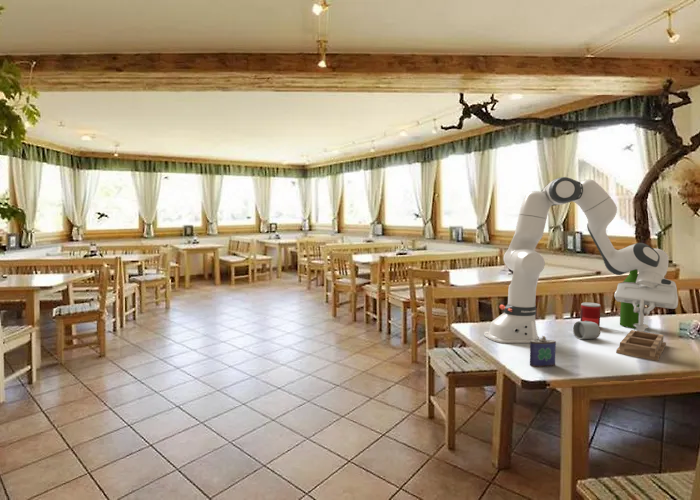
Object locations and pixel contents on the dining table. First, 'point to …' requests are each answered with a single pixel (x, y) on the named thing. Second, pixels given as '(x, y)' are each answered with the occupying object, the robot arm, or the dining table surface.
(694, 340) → the dining table surface
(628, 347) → the rack
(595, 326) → the ceramic mug
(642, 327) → the screw
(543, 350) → the flask
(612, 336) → the dining table surface
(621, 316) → the wine bottle
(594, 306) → the canned food
